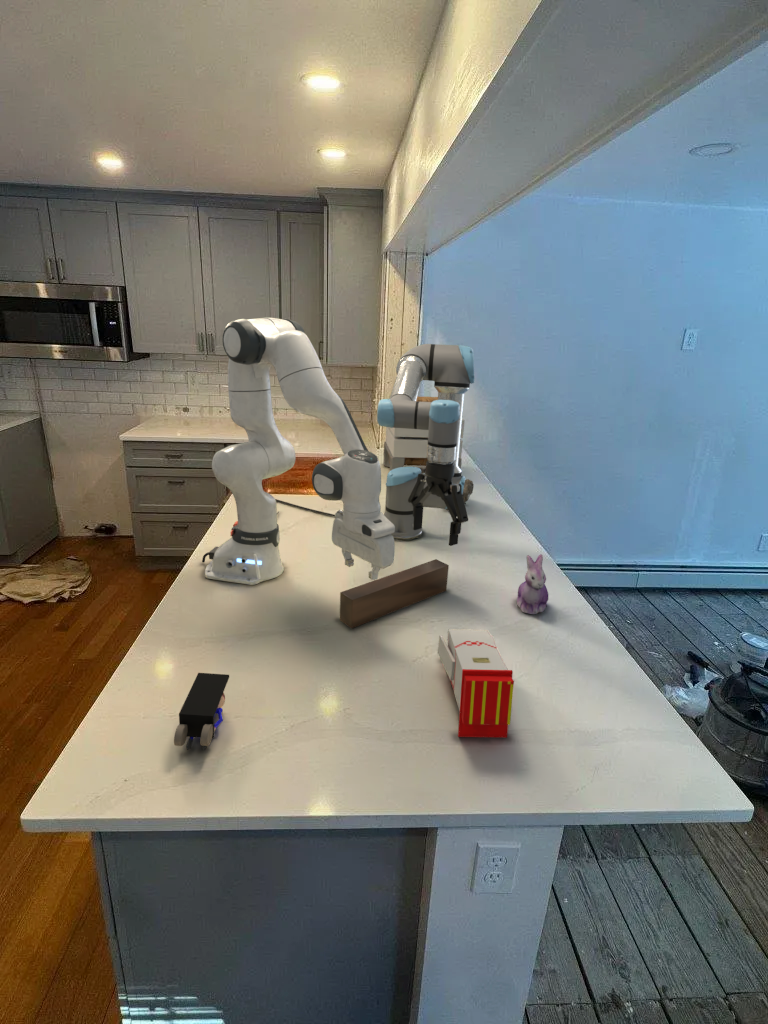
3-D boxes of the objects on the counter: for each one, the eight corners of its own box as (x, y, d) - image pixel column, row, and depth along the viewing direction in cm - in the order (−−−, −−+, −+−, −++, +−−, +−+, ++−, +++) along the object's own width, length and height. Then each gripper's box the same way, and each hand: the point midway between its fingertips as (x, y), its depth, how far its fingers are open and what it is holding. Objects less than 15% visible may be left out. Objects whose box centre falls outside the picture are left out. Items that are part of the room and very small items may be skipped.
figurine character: (213, 763, 99) (233, 700, 112) (209, 732, 95) (230, 670, 109) (174, 763, 99) (198, 699, 112) (169, 731, 95) (194, 669, 109)
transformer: (382, 463, 289) (386, 382, 275) (445, 464, 293) (451, 384, 279) (390, 482, 257) (394, 392, 243) (460, 483, 261) (468, 394, 247)
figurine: (531, 619, 148) (539, 566, 143) (506, 601, 156) (512, 551, 151) (558, 611, 152) (567, 560, 147) (532, 595, 160) (539, 546, 155)
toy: (488, 613, 130) (523, 677, 101) (484, 667, 133) (517, 744, 104) (435, 612, 130) (455, 676, 101) (432, 666, 133) (451, 743, 103)
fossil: (437, 485, 243) (466, 466, 238) (450, 501, 245) (479, 483, 240) (436, 507, 223) (469, 487, 218) (450, 525, 226) (482, 505, 221)
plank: (339, 620, 143) (340, 592, 141) (434, 584, 165) (436, 559, 162) (351, 628, 140) (352, 600, 137) (446, 590, 161) (448, 565, 158)
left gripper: (325, 510, 140) (325, 561, 145) (378, 534, 126) (377, 590, 130) (346, 505, 144) (345, 555, 149) (399, 528, 129) (397, 582, 134)
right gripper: (398, 452, 154) (394, 525, 161) (467, 474, 136) (459, 555, 143) (417, 449, 159) (413, 520, 166) (487, 470, 141) (478, 548, 148)
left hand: (360, 572), depth 139 cm, fingers open, 8 cm apart
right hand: (434, 536), depth 155 cm, fingers open, 13 cm apart
